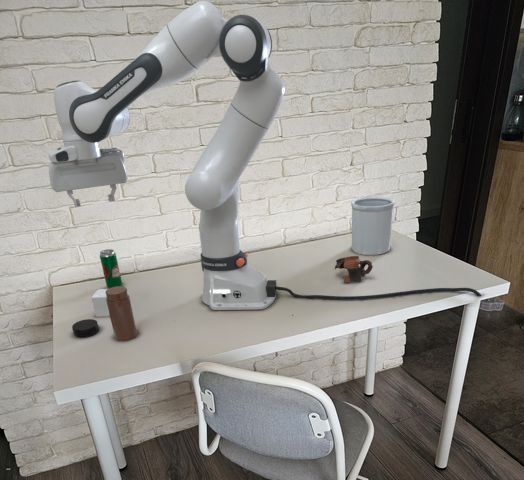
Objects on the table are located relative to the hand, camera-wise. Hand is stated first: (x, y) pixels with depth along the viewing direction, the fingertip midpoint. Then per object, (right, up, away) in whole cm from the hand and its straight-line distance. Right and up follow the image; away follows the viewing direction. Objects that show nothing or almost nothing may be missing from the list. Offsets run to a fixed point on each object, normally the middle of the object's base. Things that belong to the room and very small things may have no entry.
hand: (95, 203), depth 134 cm
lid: (-1, -35, -6) cm, 35 cm away
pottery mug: (+76, -18, +19) cm, 81 cm away
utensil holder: (+87, -4, +42) cm, 97 cm away
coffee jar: (+11, -37, -8) cm, 40 cm away
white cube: (+2, -30, +6) cm, 31 cm away
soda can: (-2, -20, +24) cm, 31 cm away
